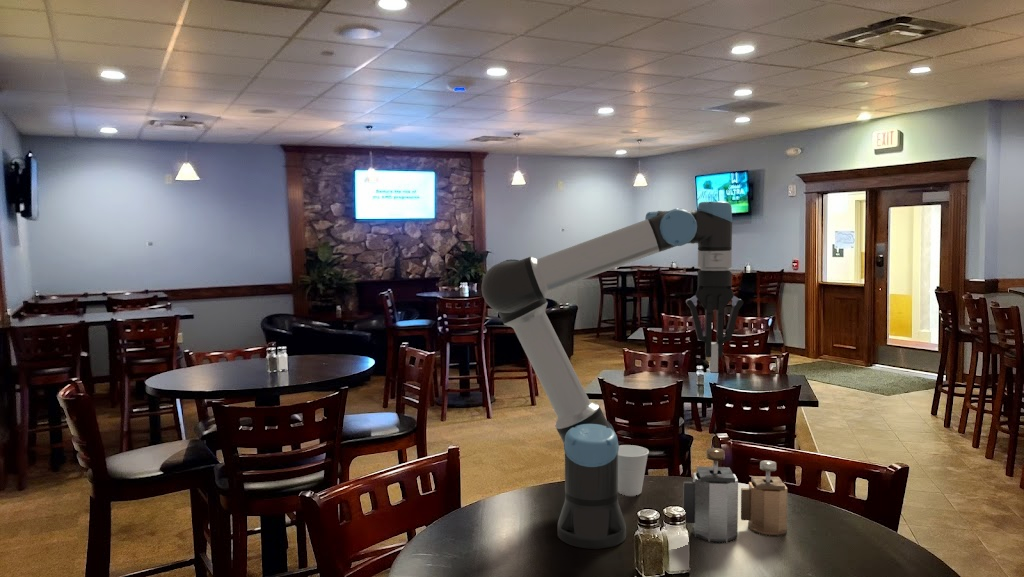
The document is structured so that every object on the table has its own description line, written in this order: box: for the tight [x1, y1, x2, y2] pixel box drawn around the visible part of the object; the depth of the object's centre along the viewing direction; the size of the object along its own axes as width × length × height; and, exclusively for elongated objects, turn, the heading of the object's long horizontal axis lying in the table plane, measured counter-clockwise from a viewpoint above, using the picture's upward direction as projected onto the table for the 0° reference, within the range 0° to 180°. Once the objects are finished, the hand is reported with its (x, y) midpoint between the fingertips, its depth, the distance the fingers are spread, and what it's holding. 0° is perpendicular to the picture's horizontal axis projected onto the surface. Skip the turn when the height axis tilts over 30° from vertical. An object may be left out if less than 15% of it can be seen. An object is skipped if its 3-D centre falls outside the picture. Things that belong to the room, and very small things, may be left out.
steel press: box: [682, 466, 739, 544], centre depth 160 cm, size 12×10×14 cm
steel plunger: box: [706, 447, 726, 483], centre depth 159 cm, size 7×7×13 cm
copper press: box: [740, 475, 788, 538], centre depth 162 cm, size 10×8×11 cm
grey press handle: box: [759, 460, 777, 491], centre depth 162 cm, size 6×6×11 cm
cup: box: [618, 444, 650, 497], centre depth 186 cm, size 10×10×11 cm
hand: (713, 370), depth 168 cm, fingers closed
